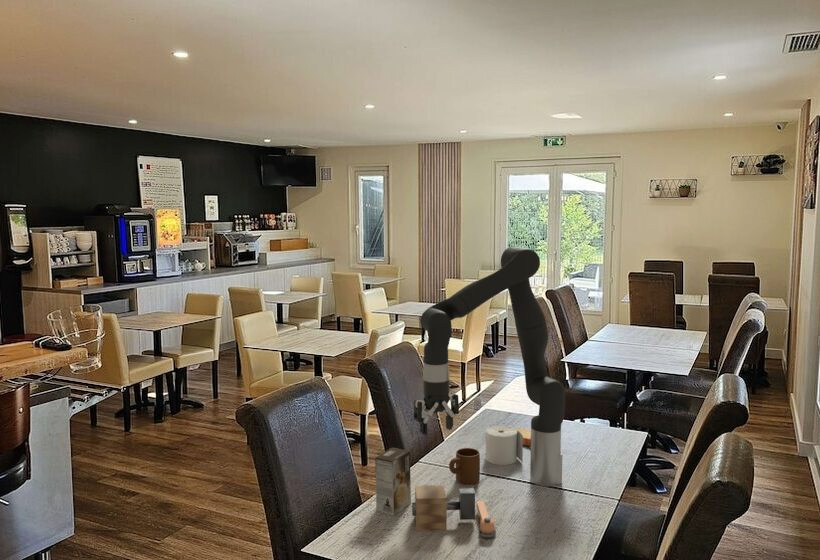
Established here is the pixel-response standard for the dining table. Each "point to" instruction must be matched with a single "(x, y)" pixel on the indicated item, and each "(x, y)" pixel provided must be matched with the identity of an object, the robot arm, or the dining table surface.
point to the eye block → (431, 507)
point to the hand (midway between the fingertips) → (436, 431)
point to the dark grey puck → (487, 535)
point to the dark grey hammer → (460, 504)
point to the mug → (466, 466)
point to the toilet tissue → (503, 445)
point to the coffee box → (393, 481)
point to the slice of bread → (525, 436)
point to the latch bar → (485, 519)
